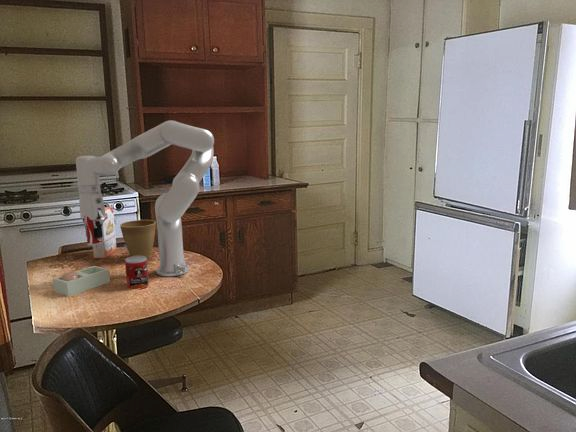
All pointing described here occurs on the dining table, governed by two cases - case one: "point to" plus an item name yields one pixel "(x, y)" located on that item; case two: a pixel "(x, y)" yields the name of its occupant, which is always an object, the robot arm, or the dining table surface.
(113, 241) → the cracker box
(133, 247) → the plant pot
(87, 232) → the soda can
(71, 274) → the brown egg
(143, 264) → the canned food
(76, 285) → the caddy
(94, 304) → the dining table surface
